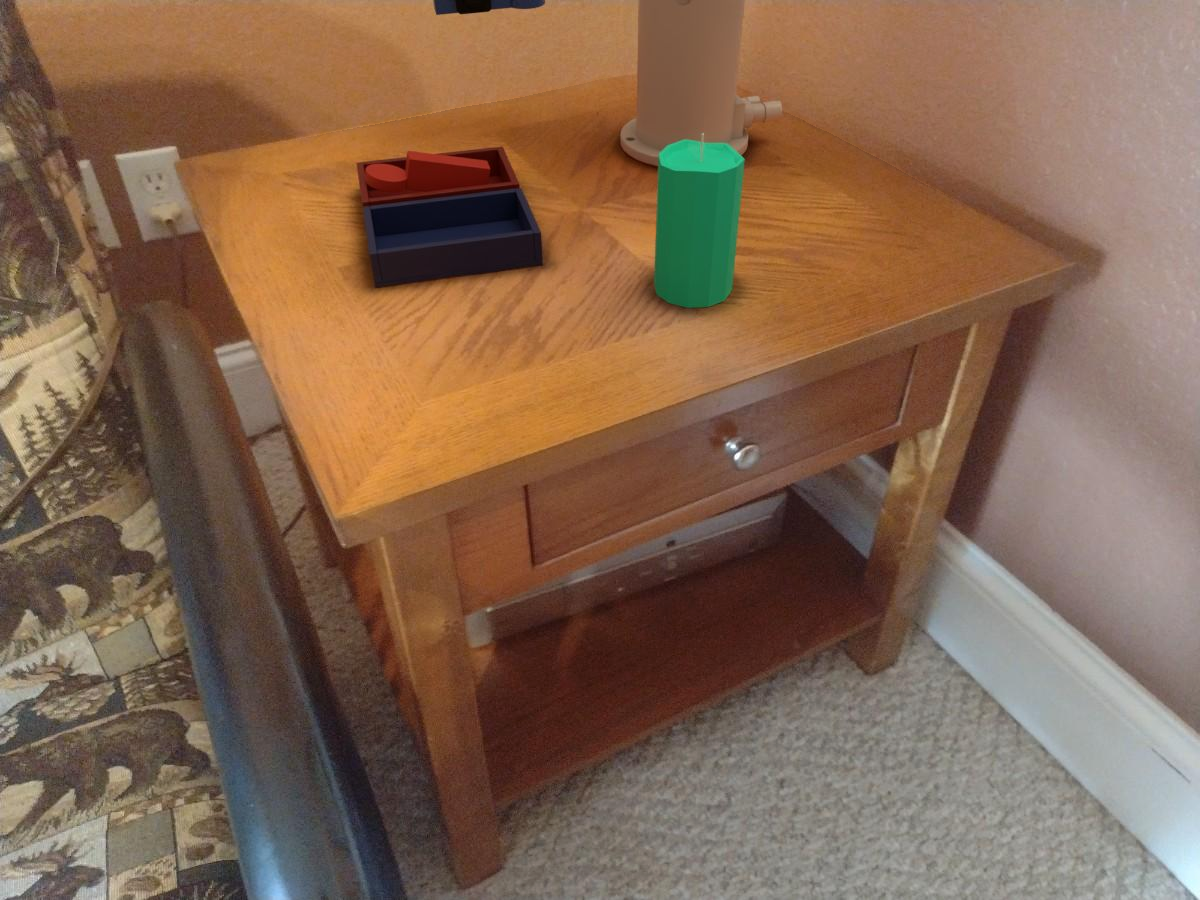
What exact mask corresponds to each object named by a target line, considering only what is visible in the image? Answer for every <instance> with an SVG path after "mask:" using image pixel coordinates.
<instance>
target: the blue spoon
mask: <svg viewBox="0 0 1200 900" xmlns="http://www.w3.org/2000/svg"><path fill="white" fill-rule="evenodd" d="M432 1H433V8H434V13H435V15H436V16H440V15H450V14H459V13H458V12H457V9H456V1H455V0H432ZM545 4H546V0H491V10H490V11H492V10H503V9H504V10H505V9H515V10H531V9H537V8H540V7H543V6H544V5H545Z"/></svg>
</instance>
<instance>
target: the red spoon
mask: <svg viewBox="0 0 1200 900" xmlns="http://www.w3.org/2000/svg"><path fill="white" fill-rule="evenodd" d="M406 157H407V159H406V168H405V170H403V169H401V168H399V167H396V166H393V165H388V164H372V165H369V166H367V168H366V171H365V182H366V183H367V185H369V186H370V187H372V188H374V189H377V190H380V191H385V192H401V191H404V190H405V189H406V190H414V191H423V192H429V191H437V190H446V189H454V188H463V187H471V186H480V185H488V181H489V175H490V167H489V164H488V162H487V161H485V160H477V159H469V158H462V157H454V156H446V155H438V153H430V152H422V151H413V150H407V151H406Z"/></svg>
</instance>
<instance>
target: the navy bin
mask: <svg viewBox="0 0 1200 900" xmlns="http://www.w3.org/2000/svg"><path fill="white" fill-rule="evenodd" d="M362 213H363V220H364V228H365V234H366V242H367V248H368V257H369V260H370V266H371V271H372V276H373V282H374V287H375V288H376V289H377V288H382V287H391V286H398V285H405V284H411V283H419V282H427V281H428V282H429V281H435V280H442V279H443V280H444V279H449V278H455V277H464V276H472V275H479V274H487V273H493V272H500V271H501V272H502V271H507V270H515V269H523V268H531V267H537V266H543V265H544V262H543V260H544V259H543V244H542V241H543V240H542V231H541V229H540V227H539V224H538V222H537V220H536V218H535V215H534V213H533V211H532V209H531V206H530V204H529V202H528V200H527V198H526V196H525V193H524V191H523V189H522V188H521V187H520V188H516V189H508V190H499V191H491V192H483V193H474V194H466V195H458V196H449V197H441V198H433V199H424V200H416V201H407V202H399V203H391V204H382V205H374V206H366V207H363V206H362Z"/></svg>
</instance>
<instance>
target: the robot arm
mask: <svg viewBox="0 0 1200 900" xmlns="http://www.w3.org/2000/svg"><path fill="white" fill-rule="evenodd" d="M455 1H456V9H457V12H458V13H457V14H459V15H470V14H480V13H488V12H491V11H492V10H491V0H455ZM637 10H638V11H637V14H638V15H637V57H636V59H637V61H636V65H637V67H636V111H635V112H636V116H635V117H634V118H632V119H631V120H629V121H628V122H627V123H625V124H623V126H622V128H621V129H620V135H619V138H620V139H619V141H620V147H621V149H622V150H623V152H625V153H626V154H627V155H628V156H629V157H631V158H633V159H634V160H636V161H639V162H641V163H644V164H647V165H650V166H654V167H658V157H659V153H660V152H661V151H662V150H663V149H664V148H665V147H666V146H667V145H670V144H673V143H676V142H678V141H681V140H684V139H687V140H693V141H699V142H701V139H702V133H704V141H703V142H705V143H727V144H729V145H730V146H731V147H732V148H733V149H734V150H735V151H737V152H738V153H739V154H740V155H741V156H743V155H744V153H745V152H746V151H747V149H748V146H749V136H750V135H749V133H748V130H747V128H748V129H749V128H751V127H752V125H753V124H756V123H762V124H765V123H773V122H774V123H775V122H779V121H781V120H782V118H783V112H784V111H783V104H782V102H781V101H780V100H772V101H769V100H768V101H762V102H761V98H760V96H759V95H752V96H751V95H750V96H745V97H741V96H740V95H739V94H738V81H739V69H740V60H741V59H740V58H741V46H742V35H743V24H744V11H745V0H638V9H637Z"/></svg>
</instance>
